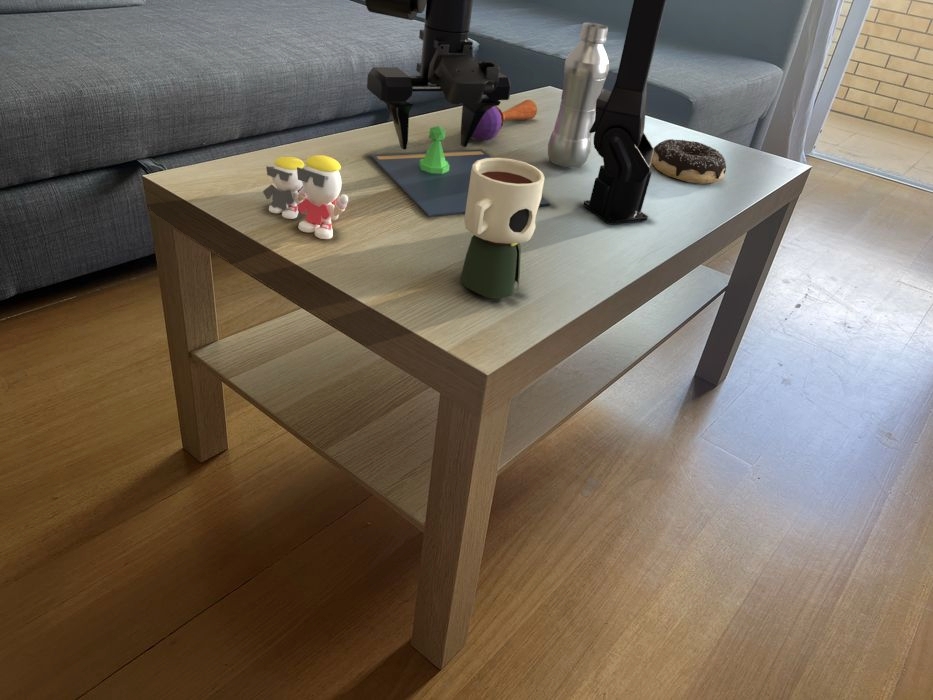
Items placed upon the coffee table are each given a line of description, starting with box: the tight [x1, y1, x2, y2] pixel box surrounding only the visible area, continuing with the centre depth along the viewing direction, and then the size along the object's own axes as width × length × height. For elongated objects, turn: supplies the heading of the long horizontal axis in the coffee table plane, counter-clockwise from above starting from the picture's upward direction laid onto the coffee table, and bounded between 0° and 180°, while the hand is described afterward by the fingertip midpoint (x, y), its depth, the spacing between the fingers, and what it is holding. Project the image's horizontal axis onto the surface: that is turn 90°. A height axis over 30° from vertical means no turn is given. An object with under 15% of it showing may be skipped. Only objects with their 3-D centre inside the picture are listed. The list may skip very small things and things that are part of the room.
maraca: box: [471, 99, 538, 142], centre depth 119 cm, size 6×6×20 cm
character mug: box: [459, 157, 546, 299], centre depth 73 cm, size 11×7×13 cm, turn 149°
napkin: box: [370, 149, 551, 217], centre depth 100 cm, size 18×20×1 cm
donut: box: [651, 138, 727, 185], centre depth 114 cm, size 11×12×4 cm
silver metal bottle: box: [547, 22, 610, 169], centre depth 105 cm, size 6×7×20 cm
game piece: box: [419, 125, 449, 174], centre depth 100 cm, size 4×4×6 cm
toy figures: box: [262, 154, 349, 240], centre depth 81 cm, size 12×4×8 cm, turn 49°
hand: (434, 147), depth 100 cm, fingers open, 9 cm apart
